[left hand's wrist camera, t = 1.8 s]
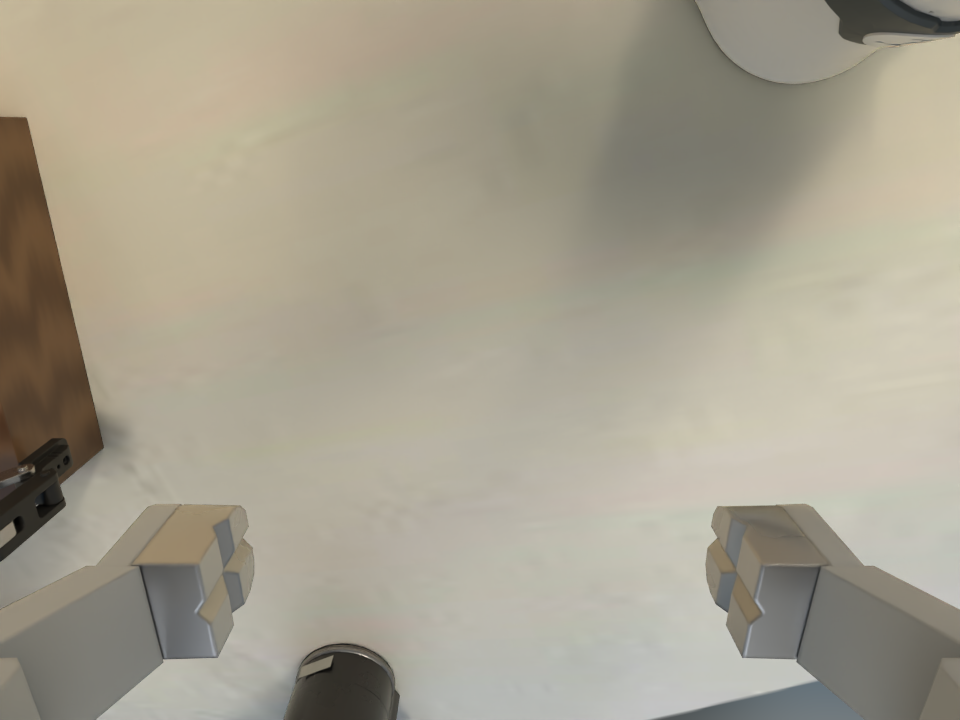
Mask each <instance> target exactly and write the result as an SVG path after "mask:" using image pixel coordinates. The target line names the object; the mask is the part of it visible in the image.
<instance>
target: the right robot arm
mask: <svg viewBox="0 0 960 720" xmlns="http://www.w3.org/2000/svg"><path fill="white" fill-rule="evenodd" d="M18 465H19V466H17V467H14V468H11V469H8V470H6V471H3V472H0V489H1V488H4V487H6V486H9V485H12V484H15V487H16V489H15V490H14V491H12V492H11V493H10V494H8V495H7V496H6V497H4V498H3V499H1V500H0V561H2V560H4V559H5V558H6V557H7V556H8V555H9V554H11V553H12V552H13V551H14V550H15V549H16V548H18V547H19V546H20V545H21V544H22V543H23V542H25V541H26V540H27V539H28V538H29V537H30V536H32V535H33V534H34V533H35V532H36V531H37V530H38V529H40V528H41V527H42V526H43V525H44V524H45V523H47V522H48V521H49V520H50V519H51V518H52V517H54V516H55V515H56V514H57V513H58V512H59V511H61V510H62V509H63V508H64V507H65V506H66V502H65V499H64V497H63V494H62V491H61V487H60V484H59V480H58V478H59V477H60V476H62V474H64V473H65V472H66V471H67V470H69V469H70V468H71V467H72V465H73V459H72V455H71V452H70V448H69V445H68V443H67V440H66V439H65V438H52V439H50V440H49V441H48V442H46V443H45V444H44V445H42V446H41V447H40V448H38V449H37V450H36V451H34V452H33V453H32V454H30V455H29V456H28V457H26V458H25V459H24V460H23V461H21V462H20V463H19V464H18ZM37 504H38V506H37V507H36V505H37ZM399 697H400V695H399V694H398V693H397V692H396V691H395V679H394V675H393V672H392V670H391V668H390V667H389V665H388V664H387V663H386V662H385V661H384V660H383V659H382V658H381V657H379V656H378V655H377V654H375V653H373V652H371V651H369V650H367V649H364V648H361V647H357V646H352V645H333V646H328V647H324V648H321V649H319V650H317V651H315V652H313V653H312V654H310V655H309V656H308V657H307V658H306V659H305V660H304V661H303V663H302V664H301V666H300V668H299V671H298V674H297V677H296V683H295V686H294V689H293V692H292V695H291V698H290V701H289V704H288V707H287V710H286V713H285V716H284V719H283V720H396V718H397V711H398V704H399Z"/></svg>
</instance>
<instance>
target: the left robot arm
mask: <svg viewBox="0 0 960 720" xmlns="http://www.w3.org/2000/svg"><path fill="white" fill-rule="evenodd" d="M695 2H696V4H697V6H698V8H699V9H700V12H701V14H702V16H703V19H704V21H705V23H706V25H707V28H708V30H709V32H710V33H711V35H712V37H713V39H714V40H715V42H716V43H717V45H718V46H719V47H720V49H721V50H722V51H723V52H724V53H725V54H726V55H727V57H729V58H730V59H731V60H732V61H733V62H734V63H735V64H737V65H738V66H739V67H741V68H742V69H744V70H745V71H747V72H749V73H751V74H752V75H755V76H757V77H759V78H762V79H765V80H768V81H772V82H777V83H785V84H802V83H810V82H816V81H820V80H824V79H827V78H830V77H833V76H835V75H838V74H840V73H842V72H844V71H846V70H848V69H850V68H852V67H854V66H855V65H857V64H859V63H860V62H862V61H863V60H865V59H866V58H867V57H869V56H870V55H871V54H873V53H874V52H875V51H876V50H878V49H880V48H882V47H899V46H906V45H912V44H919V43H925V42H931V41H936V40H941V39H946V38H951V37H955V35H956V34H958V33H960V0H695ZM248 527H249V525H248V520H247V515H246V511H245V509H244V508H242V507H241V506H239V505H192V504H184V505H181V504H155V505H152V506H149V507H147V508H146V509H145V510H144V512H143V513H142V514H141V515H140V516H139V517H138V518H137V520H136V521H135V522H134V523H133V524H132V525H131V526H130V528H129V529H128V530H127V531H126V532H125V533H124V534H123V536H122V537H121V538H120V539H119V540H118V541H117V542H116V543H115V545H114V546H113V547H112V548H111V549H110V550H109V551H108V553H107V554H106V555H105V556H104V557H103V558H102V559H101V561H100V562H99V563H98V564H97V565H96V566H85V567H83V568H81V569H79V570H77V571H75V572H73V573H71V574H69V575H67V576H65V577H63V578H61V579H60V580H58V581H56V582H54V583H52V584H50V585H48V586H46V587H44V588H42V589H40V590H38V591H36V592H34V593H32V594H30V595H28V596H26V597H24V598H22V599H20V600H18V601H16V602H14V603H12V604H10V605H8V606H6V607H4V608H2V609H0V720H96V719H97V718H98V717H99V716H100V715H102V714H103V713H104V712H105V711H106V710H108V709H109V708H110V707H111V706H112V705H113V704H115V703H116V702H117V701H118V700H119V699H121V698H122V697H123V696H124V695H125V694H126V693H128V692H129V691H130V690H131V689H132V688H134V687H135V686H136V685H137V684H138V683H139V682H141V681H142V680H143V679H144V678H145V677H147V676H148V675H149V674H150V673H151V672H152V671H154V670H155V669H156V668H157V667H158V666H160V665H161V664H162V663H163V659H190V658H218V656H219V654H220V652H221V650H222V648H223V646H224V644H225V642H226V640H227V638H228V636H229V634H230V632H231V630H232V628H233V626H234V622H233V617H232V612H234V611H235V610H237V609H238V608H239V607H241V606H242V605H244V603H245V601H246V599H247V597H248V595H249V593H250V590H251V586H252V581H253V576H254V555H253V548H252V547H251V546H250V545H249V544H248V543H247V542H246V541H245V540H244V539H243V536H244V534H245V532H246V530H247V529H248ZM711 527H712V529H713V530H714V532H715V534H716V536H717V539H716V540H715V541H714V542H713V543H712V544H711V545H710V546H709V547H708V548H707V556H706V576H707V583H708V586H709V590H710V593H711V595H712V597H713V599H714V601H715V604H716V605H718V606H719V607H721V608H722V609H723V610H725V611H726V612H728V617H727V622H726V626H727V628H728V630H729V632H730V634H731V636H732V638H733V640H734V642H735V644H736V646H737V648H738V650H739V652H740V654H741V656H742V658H769V659H797V661H796V662H797V663H798V664H800V665H801V666H802V667H803V668H804V669H805V670H807V671H808V672H809V673H810V674H811V675H813V676H814V677H815V678H816V679H817V680H818V681H820V682H821V683H822V684H823V685H824V686H826V687H827V688H828V689H829V690H830V691H832V692H833V693H834V694H835V695H836V696H837V697H838V698H840V699H841V700H842V701H843V702H844V703H846V704H847V705H848V706H849V707H850V708H851V709H853V710H854V711H855V712H856V713H857V714H859V715H860V716H861V717H862V718H863V719H864V720H960V610H959V609H957V608H955V607H953V606H951V605H950V604H948V603H946V602H944V601H942V600H940V599H938V598H936V597H934V596H932V595H930V594H928V593H926V592H924V591H922V590H920V589H918V588H916V587H914V586H912V585H910V584H908V583H906V582H904V581H902V580H900V579H898V578H896V577H894V576H893V575H891V574H889V573H887V572H885V571H883V570H881V569H879V568H877V567H875V566H864V565H863V564H862V563H861V562H860V561H859V559H858V558H857V557H856V556H855V555H854V554H853V553H852V551H851V550H850V549H849V548H848V547H847V546H846V545H845V544H844V542H843V541H842V540H841V539H840V538H839V537H838V536H837V534H836V533H835V532H834V531H833V530H832V529H831V528H830V526H829V525H828V524H827V523H826V522H825V521H824V520H823V518H822V517H821V516H820V515H819V514H818V513H817V512H816V511H815V509H814V508H813V507H811V506H809V505H807V504H785V505H773V506H717V508H716V510H715V512H714V514H713V519H712V525H711Z"/></svg>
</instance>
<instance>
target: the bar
mask: <svg viewBox="0 0 960 720" xmlns="http://www.w3.org/2000/svg"><path fill="white" fill-rule="evenodd" d="M52 438H65V439H66V440H67V443H68V445H69V448H70V452H71V455H72V459H73V465H72V467H71V468H70V469H69V470H67V471H66V472H65V473H64V474H62V476H60V477H59V478H58V480H59V484H62V483H63V482H64V481H65V480H66V479H67V478H69V477H70V476H71V475H72V474H73V473H75V472H76V471H77V470H78V469H79V468H80V467H82V466H83V465H84V464H85V463H86V462H87V461H89V460H90V459H91V458H92V457H93V456H95V455H96V454H97V453H98V452H99V451H100V450H102V449H103V448H104V447H103V443H102V438H101V434H100V430H99V425H98V421H97V417H96V413H95V408H94V404H93V400H92V396H91V391H90V387H89V383H88V379H87V374H86V370H85V366H84V362H83V357H82V353H81V349H80V345H79V340H78V336H77V332H76V327H75V323H74V319H73V315H72V310H71V306H70V302H69V298H68V293H67V289H66V285H65V281H64V276H63V272H62V268H61V264H60V259H59V255H58V251H57V246H56V242H55V238H54V234H53V229H52V225H51V221H50V217H49V212H48V208H47V204H46V200H45V195H44V191H43V187H42V183H41V178H40V174H39V170H38V165H37V161H36V157H35V153H34V148H33V144H32V140H31V136H30V131H29V127H28V123H27V119H26V118H25V117H0V472H3V471H6V470H8V469H11V468H14V467H17V466H19V465H18V464H19V463H20V462H21V461H23V460H24V459H25V458H26V457H28V456H29V455H30V454H32V453H33V452H34V451H36V450H37V449H38V448H40V447H41V446H42V445H44V444H45V443H46V442H48V441H49V440H50V439H52ZM15 489H16V487H15V484H12V485H9V486H6V487H4V488H1V489H0V500H1V499H3V498H4V497H6V496H7V495H8V494H10V493H11V492H12V491H14V490H15Z"/></svg>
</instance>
